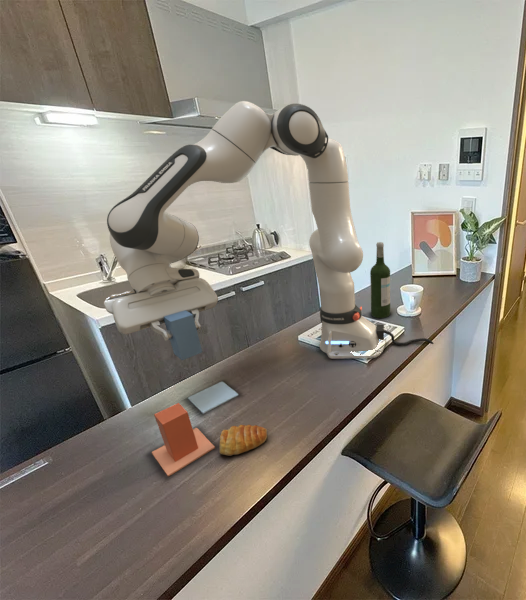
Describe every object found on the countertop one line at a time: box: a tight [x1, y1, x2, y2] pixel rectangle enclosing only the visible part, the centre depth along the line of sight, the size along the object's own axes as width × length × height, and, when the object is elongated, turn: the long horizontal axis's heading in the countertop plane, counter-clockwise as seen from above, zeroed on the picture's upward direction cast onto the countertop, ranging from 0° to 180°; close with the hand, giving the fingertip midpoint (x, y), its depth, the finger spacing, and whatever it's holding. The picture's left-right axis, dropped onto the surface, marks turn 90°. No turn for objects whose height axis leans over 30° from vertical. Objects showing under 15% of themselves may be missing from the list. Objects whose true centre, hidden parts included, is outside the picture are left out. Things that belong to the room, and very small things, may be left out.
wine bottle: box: [369, 241, 391, 319], centre depth 129 cm, size 8×8×30 cm
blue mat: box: [187, 380, 239, 415], centre depth 86 cm, size 9×9×1 cm
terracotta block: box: [153, 402, 198, 462], centre depth 68 cm, size 4×4×10 cm
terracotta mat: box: [151, 427, 216, 478], centre depth 70 cm, size 9×9×1 cm
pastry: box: [219, 424, 268, 457], centre depth 71 cm, size 9×7×4 cm
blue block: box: [164, 310, 203, 361], centre depth 75 cm, size 4×4×10 cm
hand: (184, 334), depth 75 cm, fingers closed on blue block, 4 cm apart
